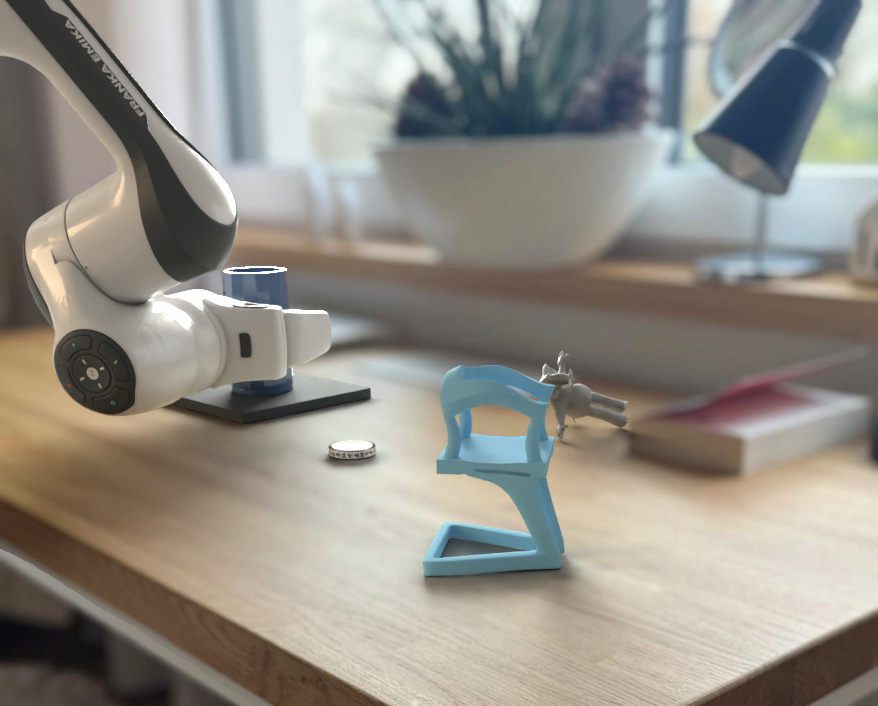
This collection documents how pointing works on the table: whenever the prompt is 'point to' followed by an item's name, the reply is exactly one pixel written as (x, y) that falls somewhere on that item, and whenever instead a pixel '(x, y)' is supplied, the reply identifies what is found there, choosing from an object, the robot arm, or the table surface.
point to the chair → (499, 472)
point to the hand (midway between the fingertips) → (261, 319)
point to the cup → (259, 289)
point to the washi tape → (352, 449)
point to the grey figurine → (579, 399)
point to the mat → (274, 399)
